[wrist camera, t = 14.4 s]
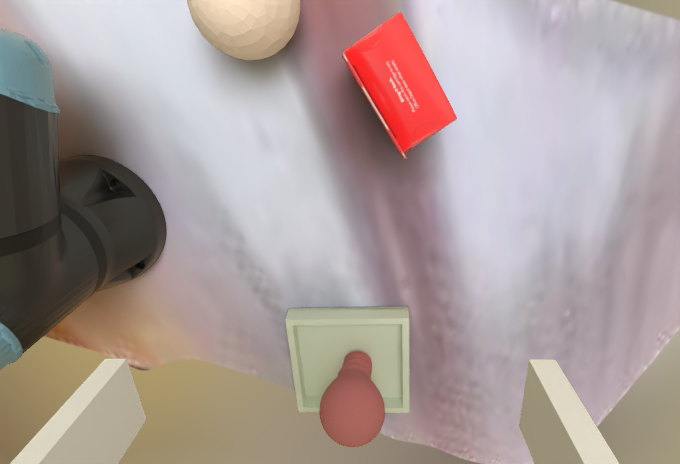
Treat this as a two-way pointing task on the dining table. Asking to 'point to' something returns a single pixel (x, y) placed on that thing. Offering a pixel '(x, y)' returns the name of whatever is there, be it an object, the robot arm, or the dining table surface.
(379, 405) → the light bulb
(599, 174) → the dining table surface
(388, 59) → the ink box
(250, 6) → the egg
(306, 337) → the tray
